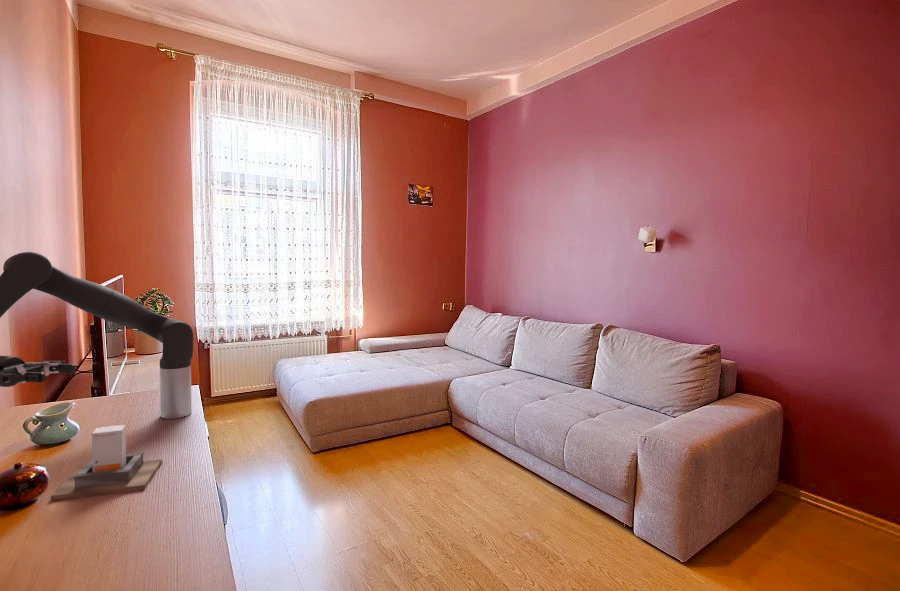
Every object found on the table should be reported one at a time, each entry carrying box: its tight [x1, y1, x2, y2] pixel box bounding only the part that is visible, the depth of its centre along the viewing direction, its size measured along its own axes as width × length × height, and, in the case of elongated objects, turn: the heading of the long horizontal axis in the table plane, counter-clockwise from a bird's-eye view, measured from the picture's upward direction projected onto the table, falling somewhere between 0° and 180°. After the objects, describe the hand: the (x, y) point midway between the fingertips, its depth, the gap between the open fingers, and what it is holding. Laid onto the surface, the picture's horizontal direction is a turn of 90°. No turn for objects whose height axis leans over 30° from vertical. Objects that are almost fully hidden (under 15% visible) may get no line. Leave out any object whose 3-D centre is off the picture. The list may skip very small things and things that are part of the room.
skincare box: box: [91, 424, 127, 472], centre depth 108 cm, size 6×4×12 cm
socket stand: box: [50, 452, 163, 502], centre depth 108 cm, size 14×18×4 cm
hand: (59, 372), depth 108 cm, fingers open, 8 cm apart
